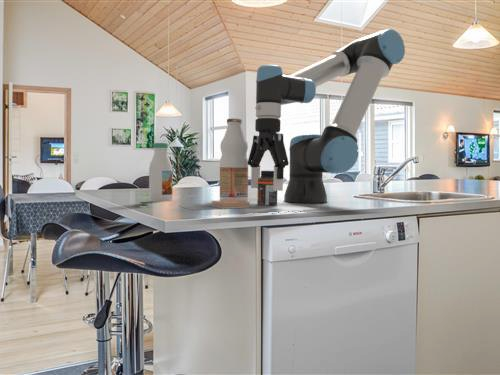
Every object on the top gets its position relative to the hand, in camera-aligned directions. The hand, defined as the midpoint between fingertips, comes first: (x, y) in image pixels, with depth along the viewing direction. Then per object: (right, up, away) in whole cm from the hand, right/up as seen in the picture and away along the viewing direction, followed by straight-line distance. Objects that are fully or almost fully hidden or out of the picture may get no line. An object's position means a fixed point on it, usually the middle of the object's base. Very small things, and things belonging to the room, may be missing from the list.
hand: (266, 189), depth 133 cm
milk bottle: (-35, -5, +16) cm, 39 cm away
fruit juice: (-10, -5, +14) cm, 18 cm away
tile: (-12, -4, -3) cm, 13 cm away
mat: (-15, -6, -7) cm, 17 cm away
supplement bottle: (0, -6, +1) cm, 6 cm away
